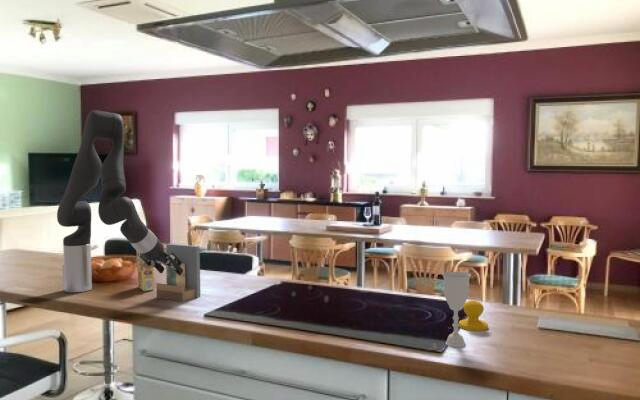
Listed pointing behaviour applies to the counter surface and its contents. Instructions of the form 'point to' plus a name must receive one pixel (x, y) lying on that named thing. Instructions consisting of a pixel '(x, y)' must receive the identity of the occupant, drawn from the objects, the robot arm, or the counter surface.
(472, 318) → the doorknob
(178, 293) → the cleat board
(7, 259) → the counter surface
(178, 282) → the cabinet block
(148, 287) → the candy box
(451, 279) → the chalice
